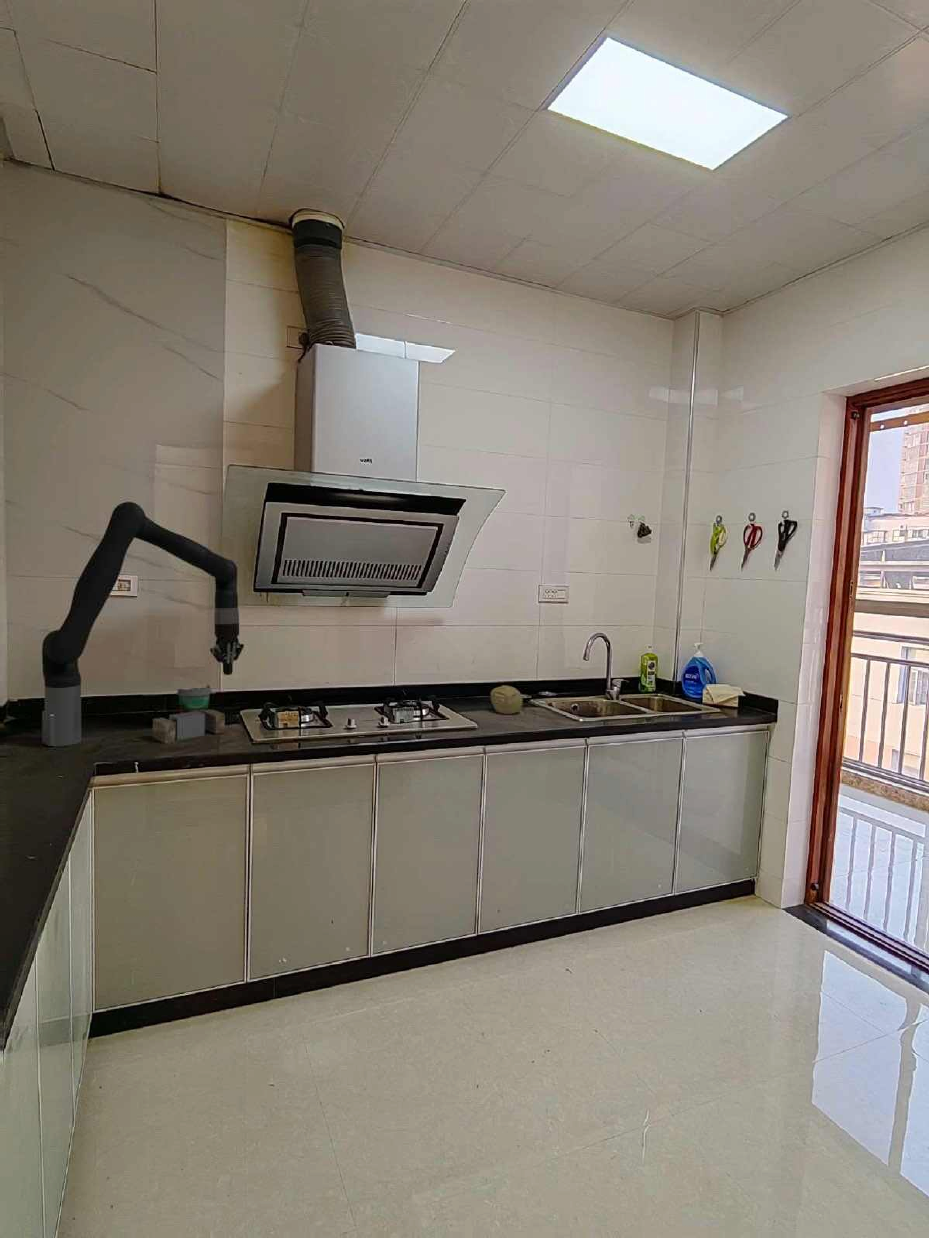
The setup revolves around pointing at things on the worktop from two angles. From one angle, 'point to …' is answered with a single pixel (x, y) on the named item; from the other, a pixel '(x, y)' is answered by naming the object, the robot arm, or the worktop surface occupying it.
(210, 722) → the block
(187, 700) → the food container
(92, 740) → the worktop surface
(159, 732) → the beige brown block
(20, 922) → the worktop surface
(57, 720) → the robot arm
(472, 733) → the worktop surface
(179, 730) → the block
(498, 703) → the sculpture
